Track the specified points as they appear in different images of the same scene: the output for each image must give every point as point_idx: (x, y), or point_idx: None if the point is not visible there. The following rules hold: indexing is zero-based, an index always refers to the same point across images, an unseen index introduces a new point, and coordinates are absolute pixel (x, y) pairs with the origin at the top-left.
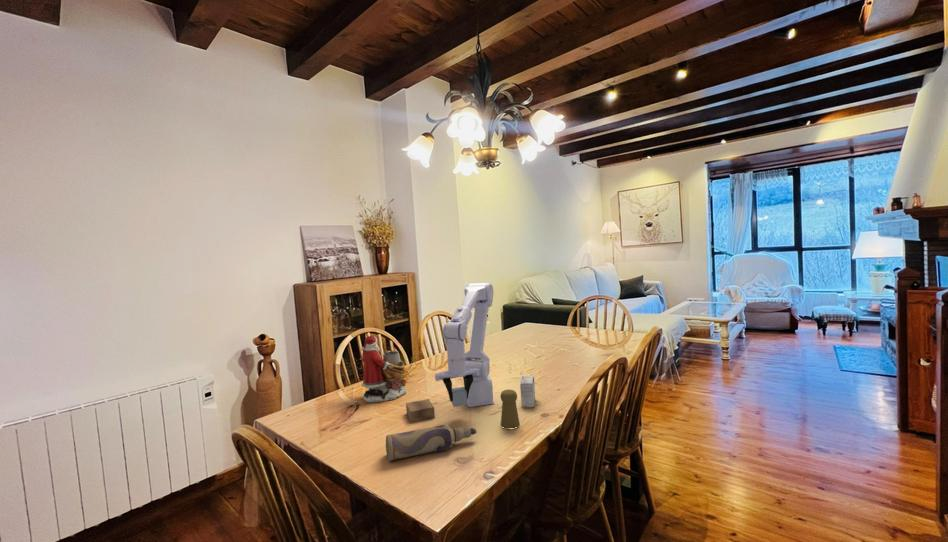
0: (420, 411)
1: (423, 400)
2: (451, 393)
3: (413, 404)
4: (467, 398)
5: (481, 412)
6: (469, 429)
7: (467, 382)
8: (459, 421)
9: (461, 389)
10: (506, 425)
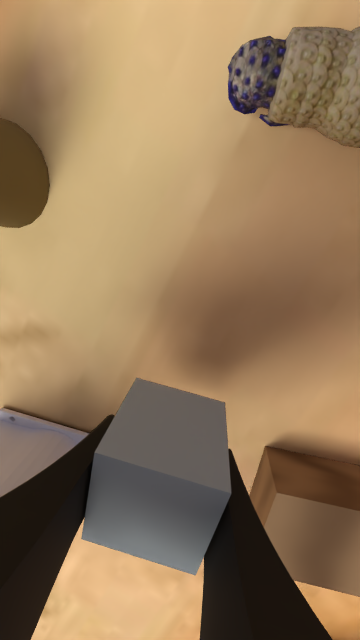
0: (349, 500)
1: None
2: (234, 503)
3: (342, 569)
4: (111, 416)
5: (74, 372)
6: (300, 29)
7: (9, 555)
8: (194, 356)
9: (119, 508)
10: (19, 137)
